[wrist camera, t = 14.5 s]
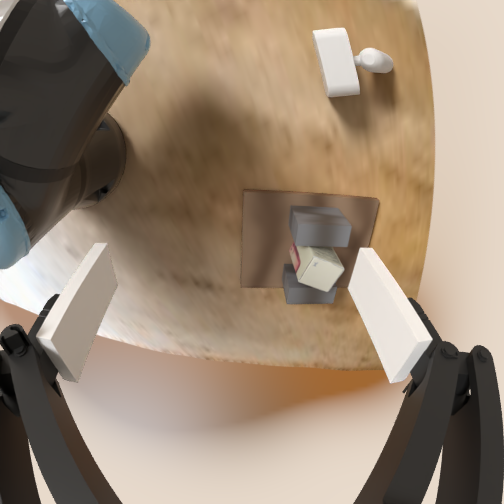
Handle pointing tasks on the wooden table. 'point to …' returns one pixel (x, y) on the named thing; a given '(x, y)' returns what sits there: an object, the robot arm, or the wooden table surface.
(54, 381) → the robot arm
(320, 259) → the small box
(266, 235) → the slotted post block
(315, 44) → the wall hook
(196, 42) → the wooden table surface
